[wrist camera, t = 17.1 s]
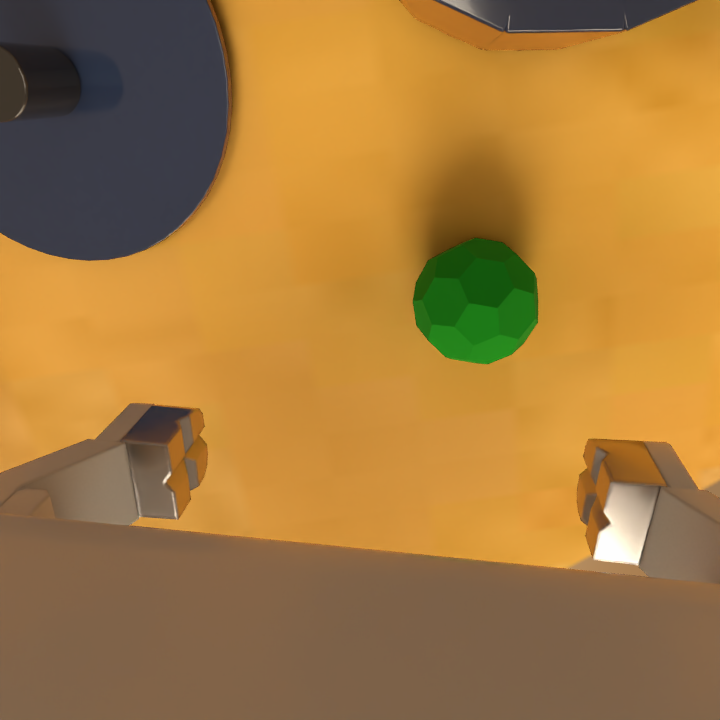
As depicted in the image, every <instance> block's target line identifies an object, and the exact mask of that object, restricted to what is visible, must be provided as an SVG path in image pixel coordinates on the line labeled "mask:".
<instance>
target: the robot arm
mask: <svg viewBox="0 0 720 720" xmlns="http://www.w3.org/2000/svg"><path fill="white" fill-rule="evenodd" d="M204 427H205V425H204V419H203V413H202V412H201V411H200V409H198V408H188V407H177V406H167V405H155V404H145V403H132V404H129V405H128V406H127V407H126V408H125V409H124V410H123V412H122V413H121V414H120V415H119V416H118V417H117V418H116V419H115V420H114V421H113V422H112V423H111V424H110V425H109V426H108V427H107V428H106V429H105V430H104V431H103V432H102V433H101V434H100V435H99V436H98V437H97V438H96V439H95V440H91V439H87V440H85V441H82V442H79V443H77V444H74V445H72V446H69V447H66V448H64V449H61V450H59V451H56V452H53V453H51V454H48V455H46V456H43V457H40V458H38V459H35V460H33V461H30V462H27V463H25V464H22V465H20V466H17V467H14V468H12V469H9V470H7V471H4V472H1V473H0V720H720V498H719V497H717V496H716V495H714V494H712V493H710V492H709V491H706V490H699V489H698V487H697V486H696V484H695V483H694V481H693V480H692V478H691V476H690V475H689V473H688V472H687V470H686V468H685V467H684V465H683V464H682V462H681V461H680V459H679V457H678V456H677V454H676V453H675V451H674V449H673V448H672V446H671V445H670V444H668V443H667V442H649V441H629V440H609V439H588V441H587V443H586V446H585V450H584V455H583V457H584V460H585V463H586V466H587V469H585V470H584V471H583V472H582V473H581V474H580V475H579V481H578V487H577V507H578V513H579V516H580V520H581V521H582V522H583V523H585V524H586V525H587V530H586V535H585V536H586V539H587V542H588V545H589V549H590V552H591V555H592V558H593V560H600V561H608V562H617V563H624V564H632V565H639V568H640V569H641V570H642V571H644V573H646V575H647V576H648V577H645V576H635V575H625V574H615V573H605V572H594V571H583V570H574V569H564V568H554V567H544V566H534V565H524V564H513V563H503V562H493V561H483V560H473V559H463V558H453V557H442V556H432V555H422V554H412V553H402V552H392V551H382V550H372V549H362V548H351V547H341V546H331V545H321V544H311V543H301V542H291V541H281V540H271V539H260V538H250V537H240V536H230V535H220V534H210V533H200V532H190V531H180V530H170V529H159V528H149V527H139V526H129V525H130V524H132V523H133V522H135V521H136V520H138V519H139V517H150V518H165V519H179V518H180V516H181V515H182V513H183V511H184V510H185V508H186V506H187V505H188V503H189V502H190V500H191V495H190V491H191V490H192V489H194V488H196V487H198V486H199V485H200V483H201V481H202V480H203V478H204V475H205V471H206V468H207V460H208V451H207V444H206V443H205V441H204V440H203V439H202V438H201V437H200V435H199V434H200V433H201V431H202V430H203V428H204Z"/></svg>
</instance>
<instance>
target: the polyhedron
mask: <svg viewBox="0 0 720 720" xmlns="http://www.w3.org/2000/svg"><path fill="white" fill-rule="evenodd" d="M413 306H414V312H415V319H416V325H417V327H418V328H419V329H420V331H421V332H422V333H423V334H424V336H425V337H426V338H427V340H428V341H429V342H430V343H431V344H433V345H434V346H435V347H436V348H437V349H438V350H439V351H440V352H441V353H442V354H443V355H444V356H445V357H447V358H450V359H455V360H460V361H466V362H472V363H479V364H489V363H492V362H494V361H497V360H499V359H502V358H504V357H507V356H509V355H512V354H513V353H514V352H515V351H516V350H517V349H518V348H519V347H520V346H521V345H523V344H524V342H525V341H526V339H527V338H528V336H529V335H530V333H531V332H532V330H533V329H534V327H535V326H536V324H537V323H538V293H537V278H536V276H535V273H534V272H533V271H532V270H531V269H530V268H529V267H528V266H527V265H526V264H525V263H524V262H523V260H522V259H521V258H520V257H519V256H518V255H517V254H516V253H515V252H513V251H512V250H511V249H510V248H509V247H507V246H506V245H505V244H504V243H503V242H498V241H492V240H486V239H480V238H474V239H471V240H468V241H466V242H463V243H461V244H459V245H457V246H455V247H453V248H451V249H449V250H447V251H445V252H442V253H441V254H439V255H437V256H435V257H433V258H432V259H430V260H428V262H427V264H426V265H425V267H424V269H423V271H422V273H421V274H420V276H419V278H418V280H417V282H416V285H415V291H414V297H413Z"/></svg>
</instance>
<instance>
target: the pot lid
mask: <svg viewBox="0 0 720 720" xmlns="http://www.w3.org/2000/svg"><path fill="white" fill-rule="evenodd" d="M231 114H232V88H231V75H230V68H229V62H228V55H227V50H226V46H225V42H224V39H223V35H222V31H221V28H220V24H219V21H218V19H217V16H216V14H215V11H214V8H213V6H212V3H211V1H210V0H0V233H2V234H3V235H5V236H7V237H8V238H10V239H12V240H14V241H16V242H18V243H21V244H23V245H25V246H27V247H29V248H32V249H35V250H38V251H40V252H43V253H46V254H49V255H54V256H58V257H63V258H68V259H77V260H88V261H91V260H110V259H115V258H120V257H125V256H129V255H132V254H135V253H138V252H140V251H143V250H146V249H148V248H150V247H152V246H153V245H155V244H157V243H159V242H161V241H163V240H164V239H166V238H168V237H169V236H170V235H172V234H173V233H174V232H176V231H177V230H178V229H179V228H181V227H182V226H183V225H184V224H185V223H186V222H187V221H188V220H189V219H190V218H191V217H192V216H193V215H194V214H195V213H196V211H197V210H198V208H199V207H200V206H201V204H202V203H203V201H204V200H205V199H206V197H207V196H208V194H209V192H210V190H211V188H212V186H213V184H214V182H215V180H216V178H217V176H218V174H219V171H220V168H221V165H222V162H223V160H224V157H225V153H226V148H227V144H228V139H229V134H230V126H231Z"/></svg>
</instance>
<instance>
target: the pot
mask: <svg viewBox="0 0 720 720" xmlns="http://www.w3.org/2000/svg"><path fill="white" fill-rule="evenodd" d="M399 1H400V2H401V3H402V4H403V5H404V7H405V8H406V9H407V10H408V11H409V12H410V14H411V15H412V16H413V17H414V18H416V19H417V20H418V21H420V22H422V23H425V24H427V25H429V26H431V27H433V28H435V29H437V30H439V31H441V32H443V33H445V34H447V35H448V36H451V37H453V38H456V39H459V40H461V41H463V42H466V43H468V44H470V45H472V46H474V47H476V48H478V49H481V50H483V49H484V50H515V51H522V50H557V49H562V48H566V47H570V46H573V45H577V44H581V43H584V42H588V41H592V40H595V39H599V38H603V37H606V36H610V35H614V34H617V33H621V32H625V31H628V30H631V29H633V28H635V27H637V26H640V25H642V24H644V23H647V22H649V21H651V20H654V19H656V18H658V17H661V16H663V15H665V14H667V13H670V12H672V11H674V10H677V9H679V8H681V7H684V6H686V5H688V4H691V3H693V2H695V1H697V0H399Z"/></svg>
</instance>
